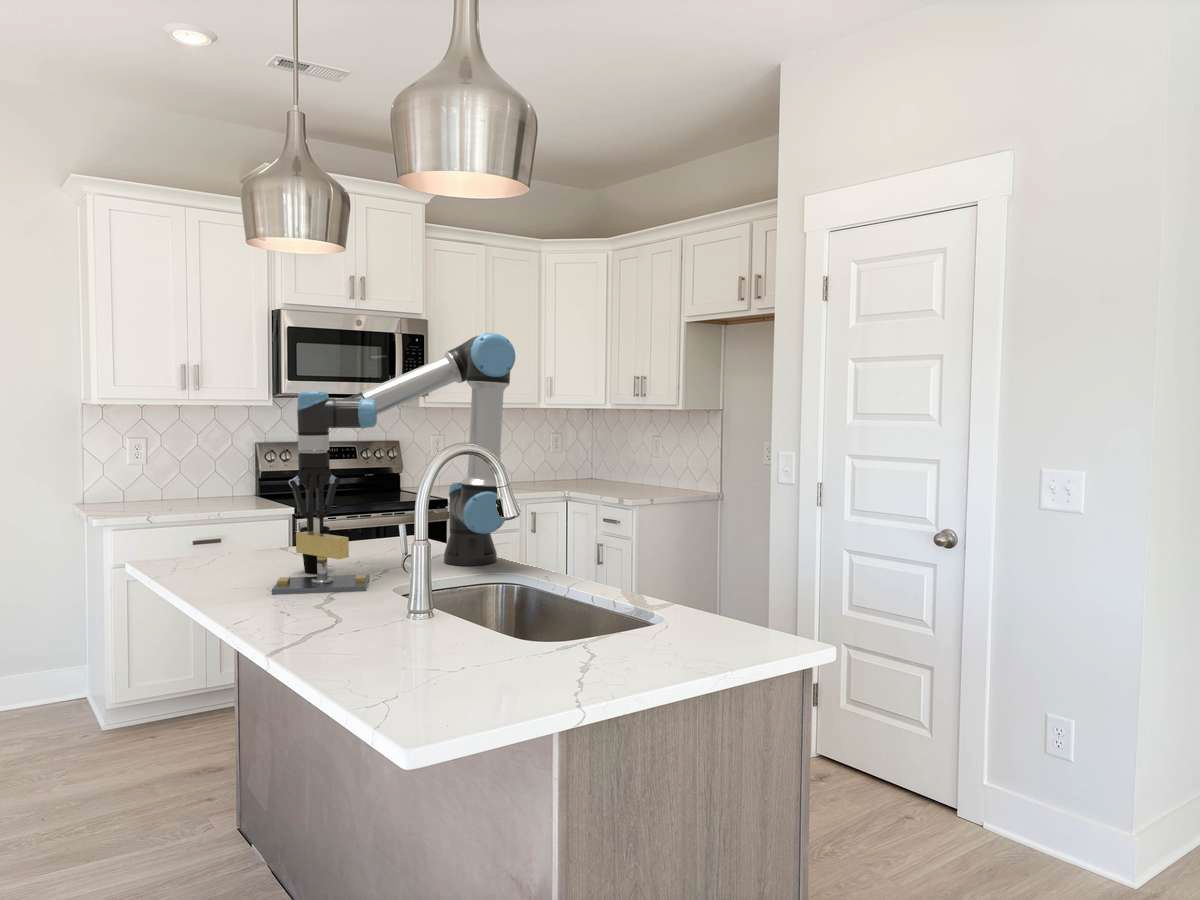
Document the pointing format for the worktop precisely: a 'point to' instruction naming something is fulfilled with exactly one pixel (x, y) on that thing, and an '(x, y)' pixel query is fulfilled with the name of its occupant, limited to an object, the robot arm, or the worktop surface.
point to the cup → (311, 560)
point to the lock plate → (321, 583)
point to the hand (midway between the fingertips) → (315, 543)
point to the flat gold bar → (322, 545)
